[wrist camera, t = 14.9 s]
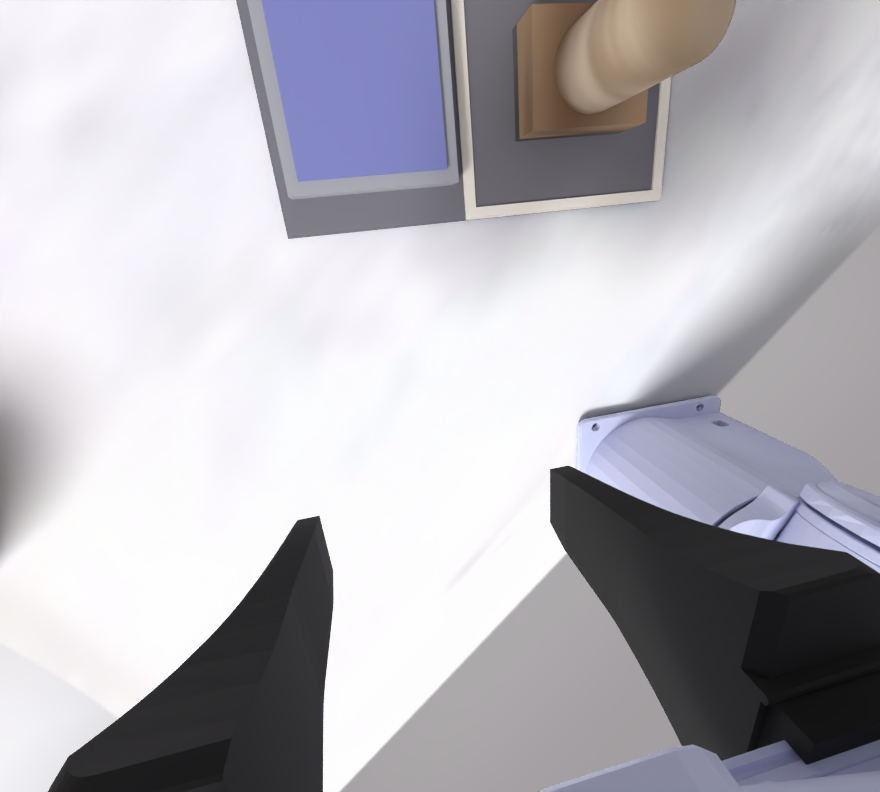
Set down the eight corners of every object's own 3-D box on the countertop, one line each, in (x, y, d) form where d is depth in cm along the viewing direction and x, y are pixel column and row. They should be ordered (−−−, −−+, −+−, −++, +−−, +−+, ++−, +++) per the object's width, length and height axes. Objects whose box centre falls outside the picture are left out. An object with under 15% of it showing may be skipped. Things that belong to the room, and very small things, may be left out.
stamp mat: (673, -59, 18) (709, -92, 16) (652, 201, 21) (679, 197, 19) (225, -59, 15) (208, -99, 13) (289, 238, 19) (283, 238, 17)
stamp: (623, 25, 18) (776, -96, 11) (617, 133, 19) (751, 79, 13) (512, 29, 17) (609, -99, 11) (515, 141, 19) (603, 88, 12)
